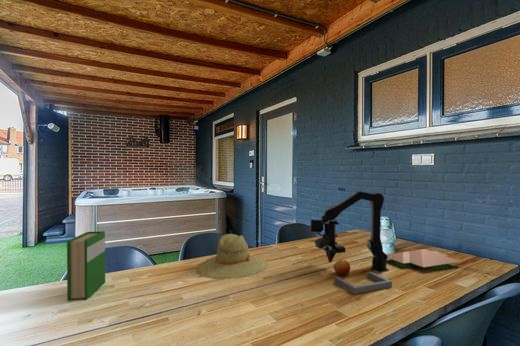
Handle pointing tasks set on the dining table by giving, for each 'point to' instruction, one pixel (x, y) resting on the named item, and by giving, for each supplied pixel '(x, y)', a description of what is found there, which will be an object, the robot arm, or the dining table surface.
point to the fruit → (342, 267)
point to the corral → (378, 285)
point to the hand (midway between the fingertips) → (330, 262)
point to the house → (422, 258)
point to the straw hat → (231, 260)
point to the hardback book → (85, 264)
